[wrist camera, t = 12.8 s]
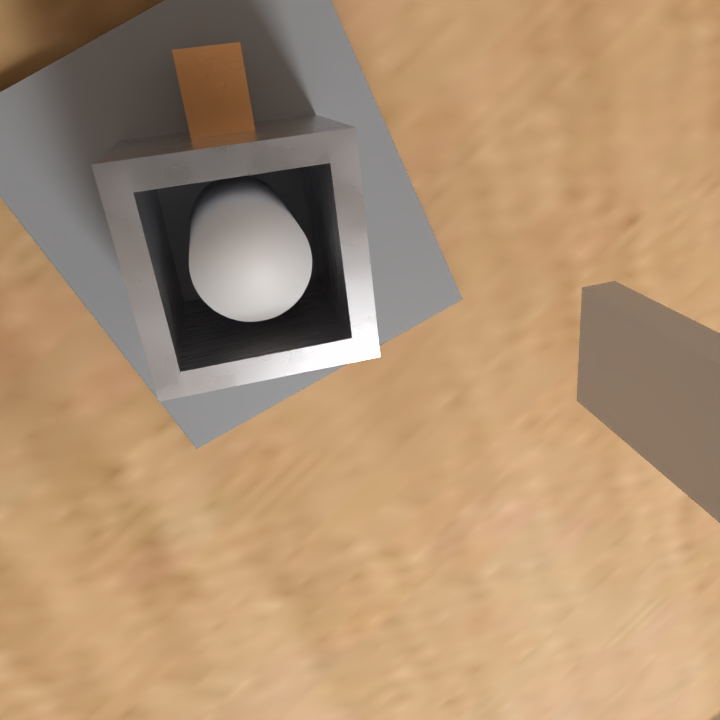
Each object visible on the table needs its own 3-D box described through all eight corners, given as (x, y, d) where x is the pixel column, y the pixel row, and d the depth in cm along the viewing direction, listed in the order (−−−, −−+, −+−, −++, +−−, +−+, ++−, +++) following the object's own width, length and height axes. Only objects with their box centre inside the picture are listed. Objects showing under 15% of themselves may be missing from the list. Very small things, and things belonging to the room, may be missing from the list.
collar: (167, 324, 30) (158, 401, 23) (99, 62, 25) (60, 56, 18) (339, 293, 32) (380, 356, 24) (305, 38, 27) (345, 24, 20)
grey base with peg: (-50, 122, 26) (-141, 140, 19) (295, -71, 26) (331, -125, 19) (196, 441, 34) (196, 535, 27) (456, 294, 34) (523, 350, 27)
